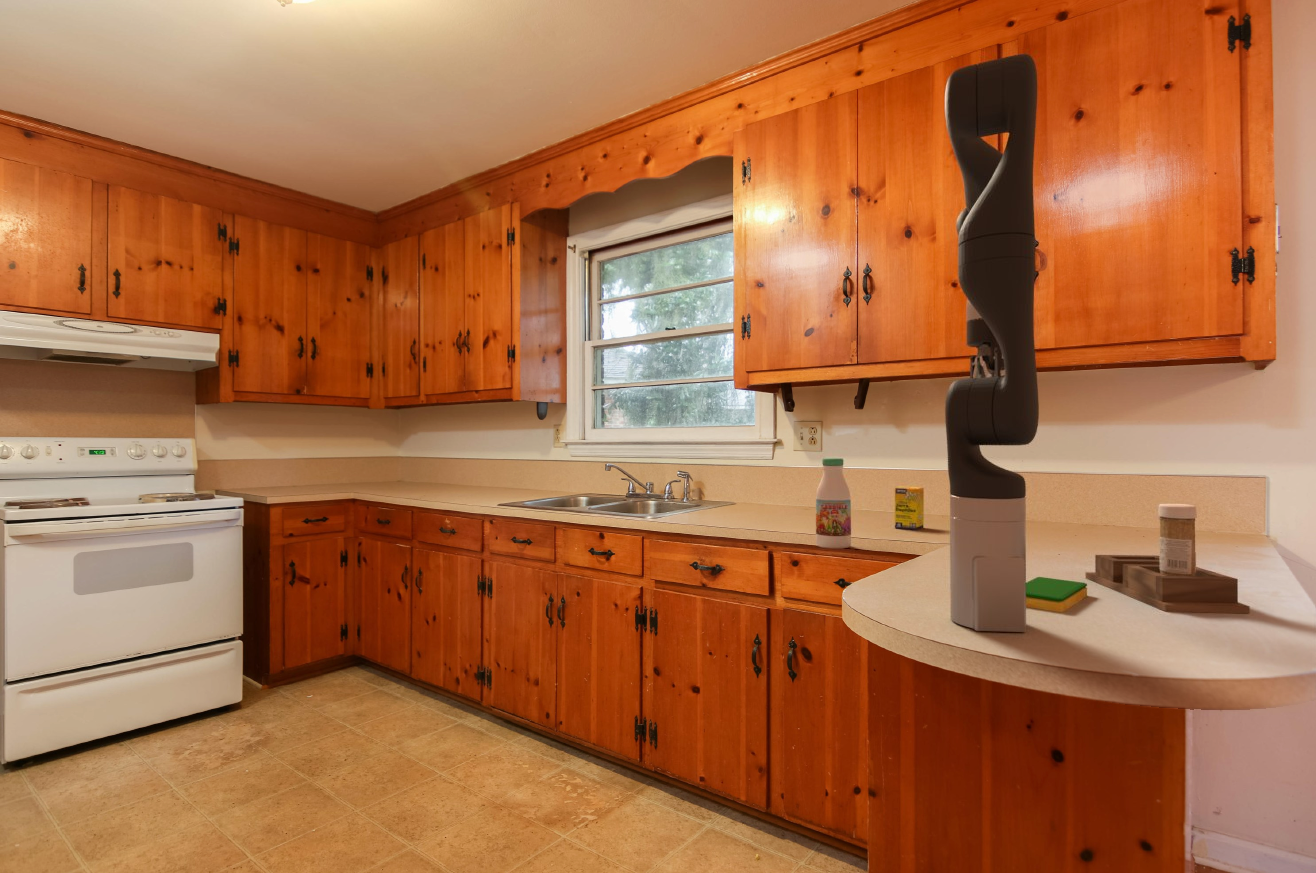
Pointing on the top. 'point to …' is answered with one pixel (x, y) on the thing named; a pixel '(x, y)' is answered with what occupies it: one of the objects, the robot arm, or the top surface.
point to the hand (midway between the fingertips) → (990, 410)
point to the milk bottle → (833, 507)
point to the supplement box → (909, 507)
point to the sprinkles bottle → (1177, 539)
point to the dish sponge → (1054, 593)
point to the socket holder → (1167, 585)
